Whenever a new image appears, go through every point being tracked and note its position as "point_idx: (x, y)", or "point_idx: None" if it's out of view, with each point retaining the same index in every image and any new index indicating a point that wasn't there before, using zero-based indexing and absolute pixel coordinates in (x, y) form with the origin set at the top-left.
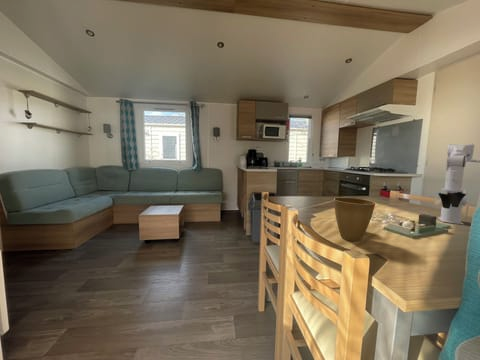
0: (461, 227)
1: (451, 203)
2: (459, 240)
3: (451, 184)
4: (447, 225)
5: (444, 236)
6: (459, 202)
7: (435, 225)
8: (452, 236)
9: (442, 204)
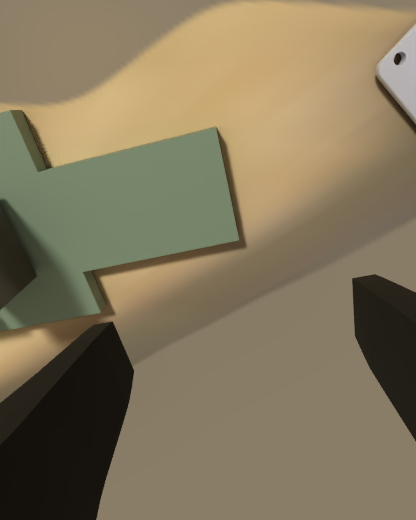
0: (336, 238)
1: (381, 299)
2: None
3: None
4: (207, 235)
5: (3, 359)
6: (409, 426)
7: (26, 283)
8: None
9: (57, 358)
